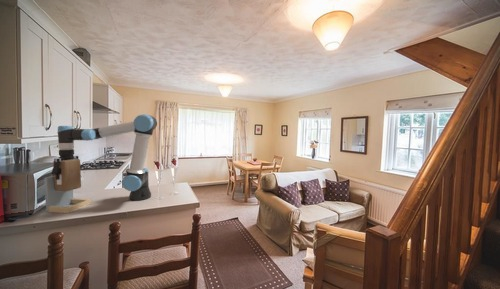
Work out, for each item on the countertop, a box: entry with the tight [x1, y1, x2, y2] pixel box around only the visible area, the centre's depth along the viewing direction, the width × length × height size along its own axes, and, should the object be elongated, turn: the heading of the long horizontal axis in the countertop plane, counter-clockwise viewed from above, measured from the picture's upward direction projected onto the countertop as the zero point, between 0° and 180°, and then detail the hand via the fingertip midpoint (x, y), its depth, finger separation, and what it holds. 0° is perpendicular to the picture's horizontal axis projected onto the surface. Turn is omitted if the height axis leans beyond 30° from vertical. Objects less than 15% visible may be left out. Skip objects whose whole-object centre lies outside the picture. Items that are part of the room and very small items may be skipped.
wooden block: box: [52, 158, 82, 191], centre depth 134 cm, size 10×10×20 cm
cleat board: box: [43, 175, 91, 214], centre depth 135 cm, size 16×16×22 cm
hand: (68, 182), depth 134 cm, fingers closed on wooden block, 10 cm apart
